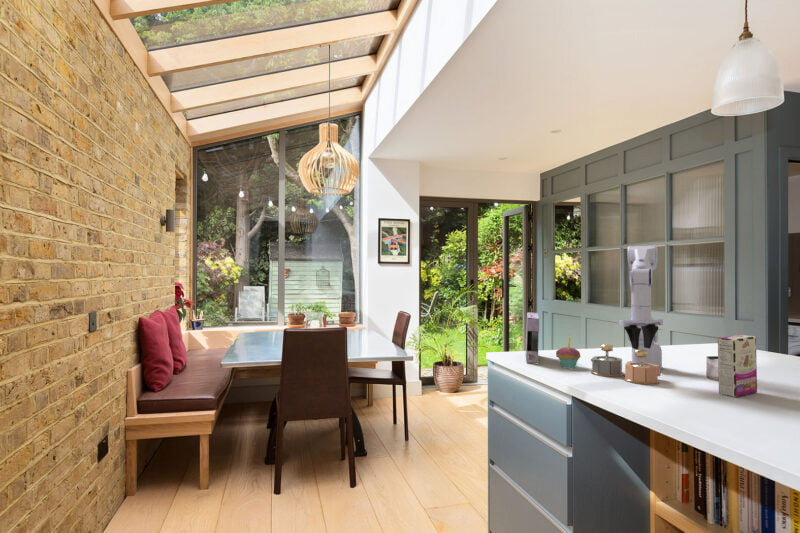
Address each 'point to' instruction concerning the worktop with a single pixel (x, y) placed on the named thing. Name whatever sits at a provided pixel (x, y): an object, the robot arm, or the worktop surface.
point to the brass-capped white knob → (641, 357)
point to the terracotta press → (642, 373)
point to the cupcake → (568, 356)
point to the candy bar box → (737, 365)
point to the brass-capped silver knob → (606, 348)
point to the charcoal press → (607, 366)
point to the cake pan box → (532, 337)
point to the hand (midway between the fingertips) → (641, 348)
